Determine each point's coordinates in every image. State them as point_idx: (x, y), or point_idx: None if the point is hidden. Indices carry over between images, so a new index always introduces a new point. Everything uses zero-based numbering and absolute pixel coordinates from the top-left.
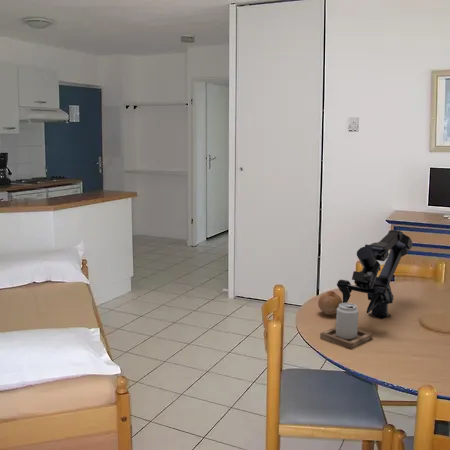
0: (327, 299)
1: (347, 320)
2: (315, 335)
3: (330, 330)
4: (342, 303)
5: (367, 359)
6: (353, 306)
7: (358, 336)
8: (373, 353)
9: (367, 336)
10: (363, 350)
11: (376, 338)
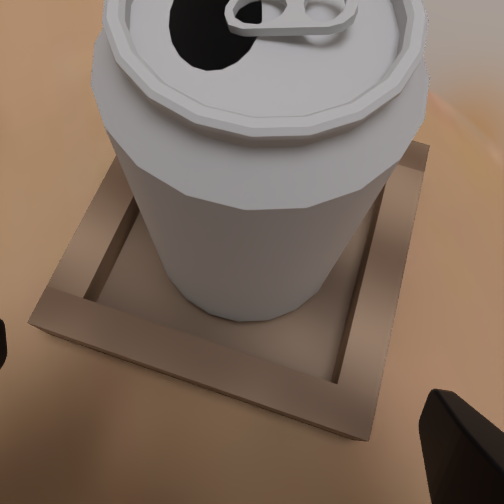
0: None
1: (218, 37)
2: (467, 206)
3: (389, 229)
4: (397, 62)
5: (48, 22)
6: (177, 69)
7: (160, 303)
8: (19, 103)
9: (66, 249)
10: (88, 118)
11: (11, 376)
